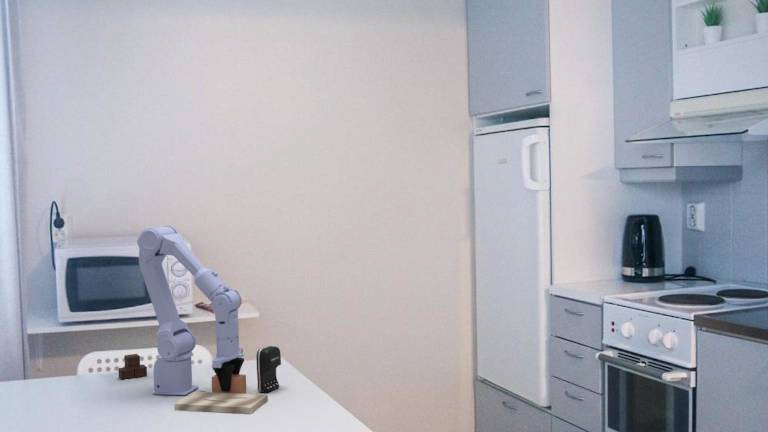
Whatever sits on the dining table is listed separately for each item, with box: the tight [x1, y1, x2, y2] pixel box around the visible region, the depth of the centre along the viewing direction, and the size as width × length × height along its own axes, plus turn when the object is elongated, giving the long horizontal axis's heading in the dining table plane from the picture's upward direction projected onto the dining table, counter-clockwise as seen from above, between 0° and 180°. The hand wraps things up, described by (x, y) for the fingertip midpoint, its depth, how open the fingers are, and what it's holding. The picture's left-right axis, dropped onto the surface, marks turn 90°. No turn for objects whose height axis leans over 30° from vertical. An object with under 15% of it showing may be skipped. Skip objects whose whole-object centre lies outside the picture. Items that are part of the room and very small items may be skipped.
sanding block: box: [211, 373, 248, 394], centre depth 206 cm, size 8×4×5 cm, turn 76°
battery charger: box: [256, 345, 282, 393], centre depth 210 cm, size 7×4×11 cm, turn 154°
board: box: [173, 391, 269, 415], centre depth 197 cm, size 20×11×2 cm, turn 77°
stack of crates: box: [118, 353, 148, 381], centre depth 228 cm, size 15×15×7 cm
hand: (229, 388), depth 206 cm, fingers closed on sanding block, 4 cm apart
